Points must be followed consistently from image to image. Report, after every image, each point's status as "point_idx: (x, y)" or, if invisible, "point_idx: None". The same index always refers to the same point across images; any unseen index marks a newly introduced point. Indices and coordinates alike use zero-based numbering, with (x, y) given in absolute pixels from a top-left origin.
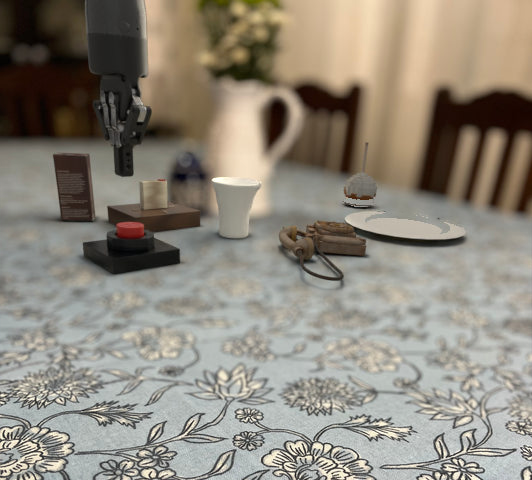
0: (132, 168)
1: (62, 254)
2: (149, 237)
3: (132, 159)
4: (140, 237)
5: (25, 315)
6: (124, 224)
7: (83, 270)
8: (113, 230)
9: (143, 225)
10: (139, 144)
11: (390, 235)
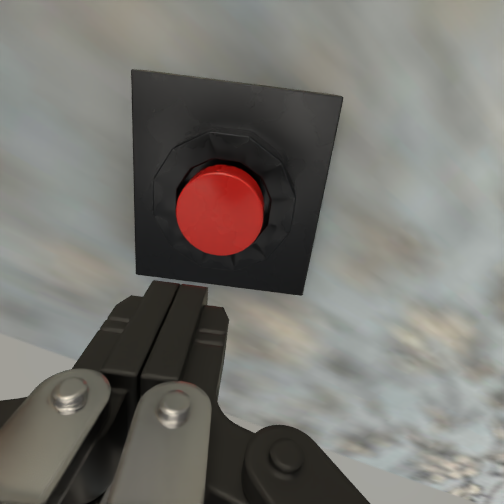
0: (227, 325)
1: (107, 282)
2: (291, 186)
3: (221, 355)
4: (276, 209)
5: (368, 446)
6: (207, 228)
7: (238, 305)
8: (162, 224)
9: (248, 185)
10: (293, 433)
11: None
